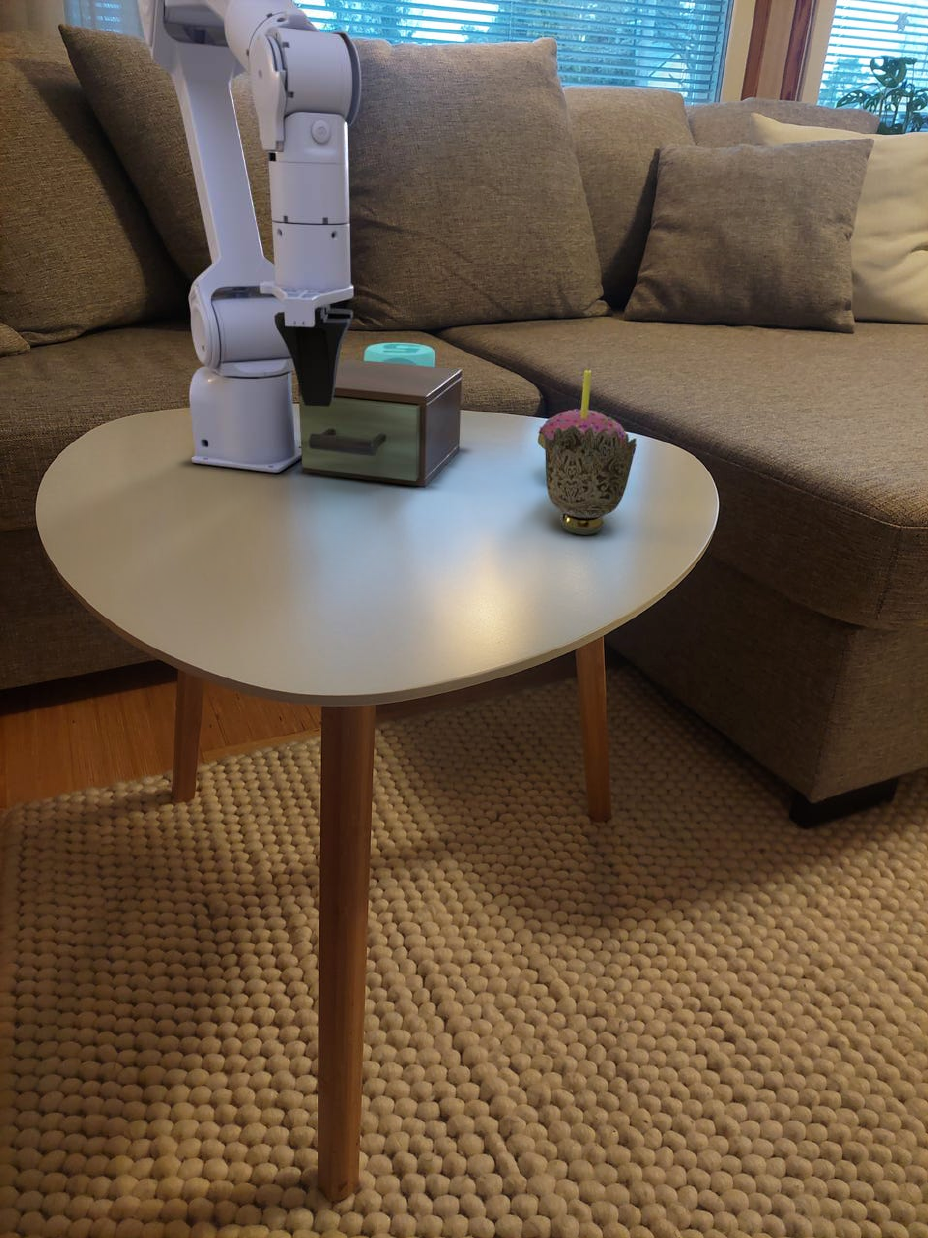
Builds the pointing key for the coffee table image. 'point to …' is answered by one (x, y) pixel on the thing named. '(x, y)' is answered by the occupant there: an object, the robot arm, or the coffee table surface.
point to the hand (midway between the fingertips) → (318, 404)
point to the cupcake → (581, 418)
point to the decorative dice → (401, 354)
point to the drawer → (362, 437)
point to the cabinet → (414, 386)
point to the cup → (587, 475)
